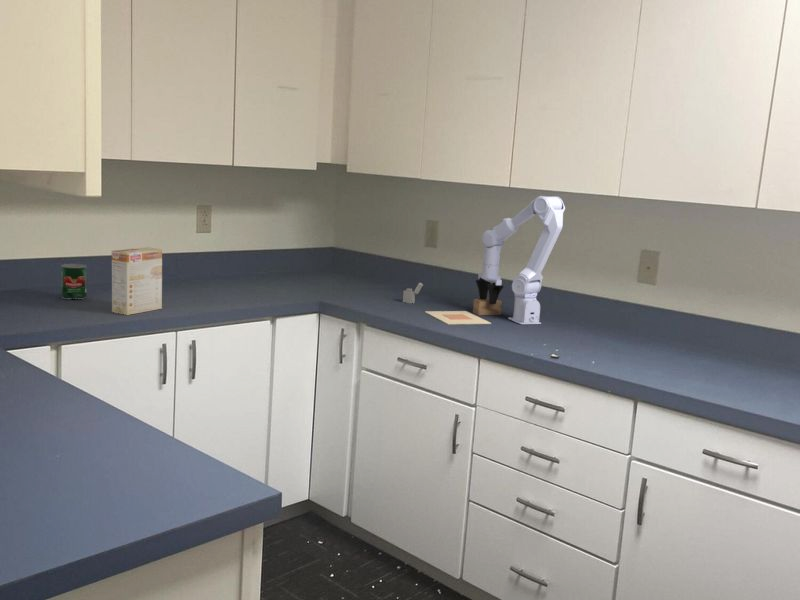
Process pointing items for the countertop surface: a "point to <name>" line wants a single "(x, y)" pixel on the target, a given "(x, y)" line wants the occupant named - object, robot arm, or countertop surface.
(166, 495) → the countertop surface
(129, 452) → the countertop surface
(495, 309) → the walnut block
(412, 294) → the lighter
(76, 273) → the canned tomato
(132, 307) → the coffeecake box
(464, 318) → the mat
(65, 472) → the countertop surface
